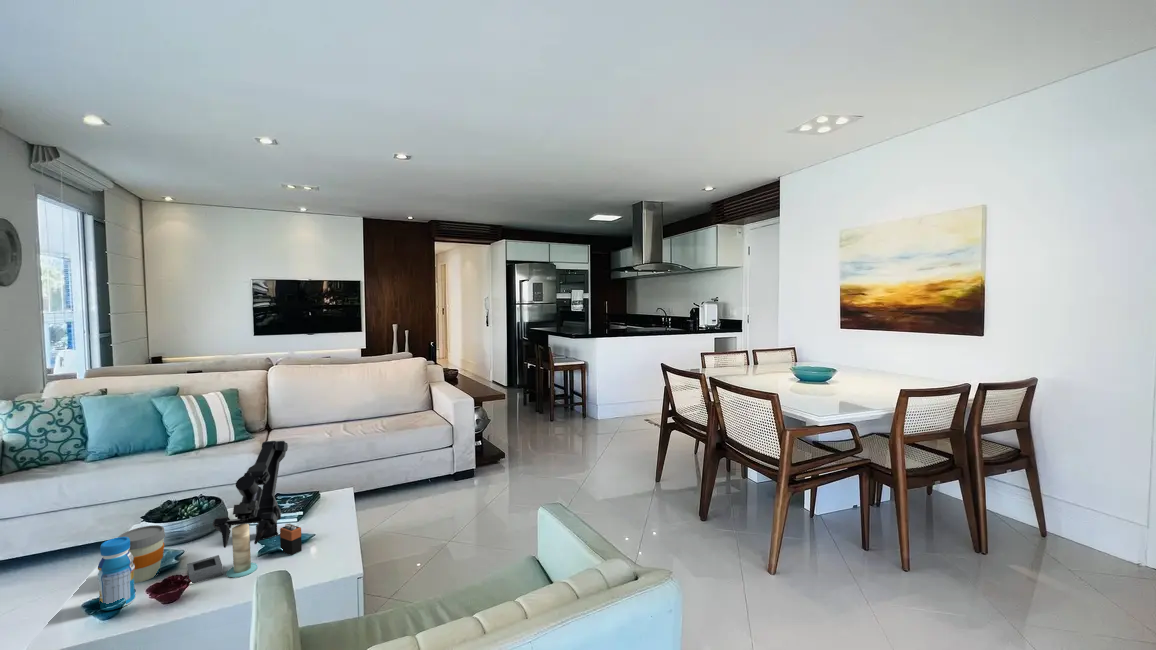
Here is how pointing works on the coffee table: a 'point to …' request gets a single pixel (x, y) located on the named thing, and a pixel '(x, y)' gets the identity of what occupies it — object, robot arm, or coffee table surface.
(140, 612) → the coffee table surface
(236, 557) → the plug
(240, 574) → the mat
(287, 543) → the battery
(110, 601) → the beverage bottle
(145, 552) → the reusable coffee cup
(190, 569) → the socket block
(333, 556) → the coffee table surface
